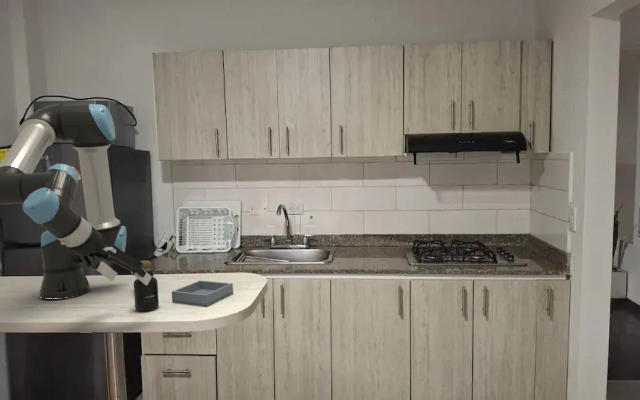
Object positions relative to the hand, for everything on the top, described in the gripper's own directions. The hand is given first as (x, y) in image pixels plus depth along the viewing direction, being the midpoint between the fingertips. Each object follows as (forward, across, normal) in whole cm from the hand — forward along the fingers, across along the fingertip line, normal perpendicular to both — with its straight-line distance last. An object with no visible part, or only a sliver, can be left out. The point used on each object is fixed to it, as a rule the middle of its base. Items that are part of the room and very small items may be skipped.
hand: (131, 279), depth 130 cm
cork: (+21, -15, +6) cm, 26 cm away
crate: (+22, +9, +7) cm, 24 cm away
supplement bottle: (+12, -1, -4) cm, 12 cm away
